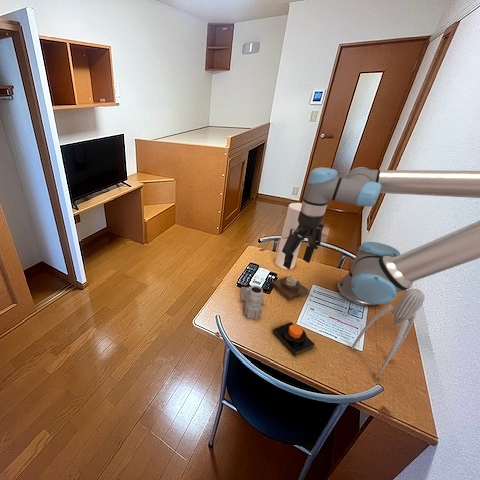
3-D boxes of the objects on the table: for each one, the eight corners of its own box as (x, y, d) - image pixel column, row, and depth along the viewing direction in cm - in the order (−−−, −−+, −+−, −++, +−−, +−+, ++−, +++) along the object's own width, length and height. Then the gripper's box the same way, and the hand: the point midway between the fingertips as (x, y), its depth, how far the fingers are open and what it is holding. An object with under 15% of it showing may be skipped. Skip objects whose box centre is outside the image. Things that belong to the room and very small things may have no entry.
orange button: (294, 327, 89) (295, 323, 88) (303, 336, 86) (305, 332, 85) (285, 330, 88) (286, 326, 87) (294, 340, 85) (296, 336, 84)
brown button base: (289, 279, 115) (291, 272, 113) (307, 293, 107) (309, 286, 105) (271, 285, 113) (272, 278, 110) (288, 300, 104) (290, 293, 102)
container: (296, 269, 121) (313, 211, 106) (276, 268, 123) (291, 210, 107) (292, 259, 128) (308, 203, 113) (273, 257, 130) (287, 202, 114)
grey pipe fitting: (243, 293, 92) (244, 268, 105) (239, 316, 98) (240, 291, 111) (269, 297, 90) (267, 271, 102) (264, 321, 96) (261, 294, 108)
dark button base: (290, 326, 94) (292, 318, 92) (313, 348, 86) (316, 340, 84) (272, 333, 91) (274, 325, 89) (294, 356, 83) (297, 348, 81)
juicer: (404, 376, 77) (462, 302, 61) (375, 379, 76) (426, 305, 61) (376, 345, 86) (421, 275, 70) (350, 348, 85) (389, 277, 70)
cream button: (290, 279, 110) (291, 275, 109) (298, 284, 107) (299, 281, 106) (283, 281, 109) (284, 277, 108) (290, 287, 106) (291, 283, 105)
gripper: (325, 203, 98) (309, 252, 109) (279, 214, 91) (267, 265, 103) (344, 211, 92) (325, 262, 103) (295, 223, 85) (281, 276, 97)
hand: (296, 264), depth 103 cm, fingers open, 9 cm apart
